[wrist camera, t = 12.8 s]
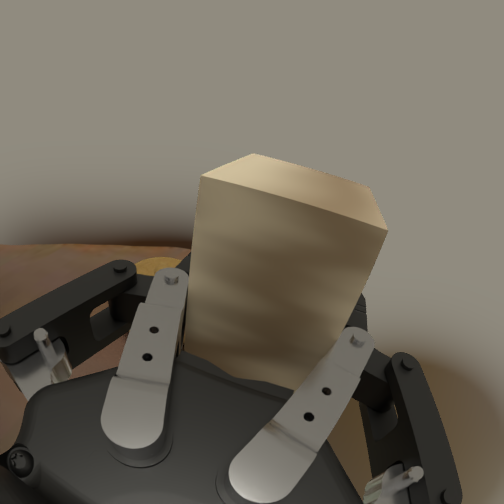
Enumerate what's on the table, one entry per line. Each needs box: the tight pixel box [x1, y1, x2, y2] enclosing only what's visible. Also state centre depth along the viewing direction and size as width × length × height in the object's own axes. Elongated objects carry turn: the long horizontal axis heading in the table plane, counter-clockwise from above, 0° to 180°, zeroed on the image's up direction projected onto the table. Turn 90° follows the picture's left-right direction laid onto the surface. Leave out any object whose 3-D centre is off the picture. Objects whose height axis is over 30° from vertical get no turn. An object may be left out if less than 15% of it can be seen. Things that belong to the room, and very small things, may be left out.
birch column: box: [184, 154, 388, 394], centre depth 12 cm, size 5×5×12 cm
